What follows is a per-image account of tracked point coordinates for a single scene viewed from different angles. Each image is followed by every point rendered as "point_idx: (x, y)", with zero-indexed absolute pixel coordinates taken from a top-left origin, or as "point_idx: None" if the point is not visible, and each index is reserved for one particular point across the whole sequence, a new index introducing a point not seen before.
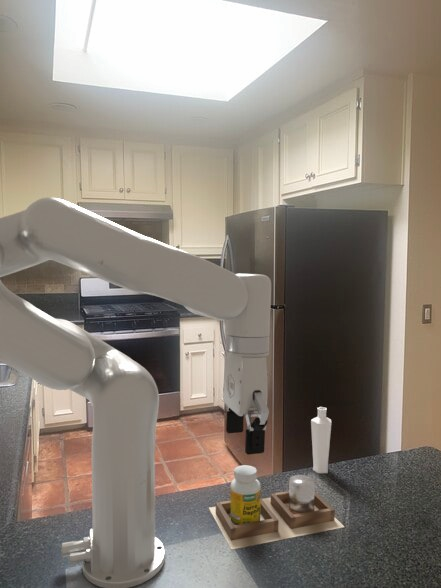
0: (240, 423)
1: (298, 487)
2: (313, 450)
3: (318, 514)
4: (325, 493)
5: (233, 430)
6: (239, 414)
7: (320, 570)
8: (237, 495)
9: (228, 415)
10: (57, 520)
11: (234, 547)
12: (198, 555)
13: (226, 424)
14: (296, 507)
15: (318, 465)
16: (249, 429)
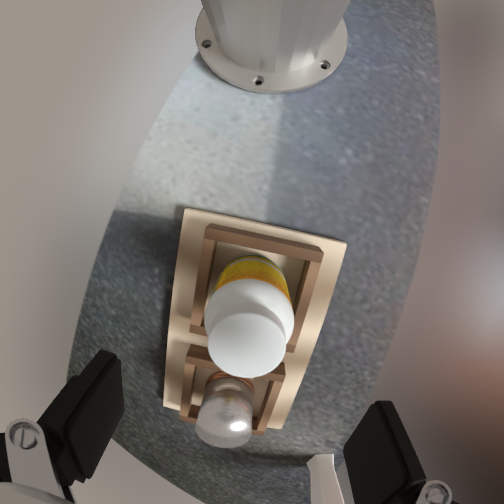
0: (355, 470)
1: (205, 414)
2: (335, 485)
3: (181, 396)
4: (271, 442)
5: (364, 427)
6: (10, 487)
7: (103, 313)
8: (229, 281)
9: (401, 470)
10: (431, 9)
11: (187, 217)
12: (219, 149)
13: (400, 425)
14: (215, 384)
15: (319, 470)
16: (40, 434)
